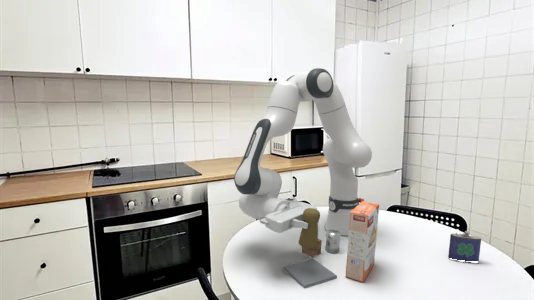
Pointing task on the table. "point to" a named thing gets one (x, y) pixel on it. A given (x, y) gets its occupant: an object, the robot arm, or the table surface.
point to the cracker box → (362, 240)
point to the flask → (464, 247)
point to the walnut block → (312, 250)
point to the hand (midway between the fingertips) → (313, 223)
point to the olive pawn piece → (310, 229)
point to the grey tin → (332, 241)
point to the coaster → (309, 273)
